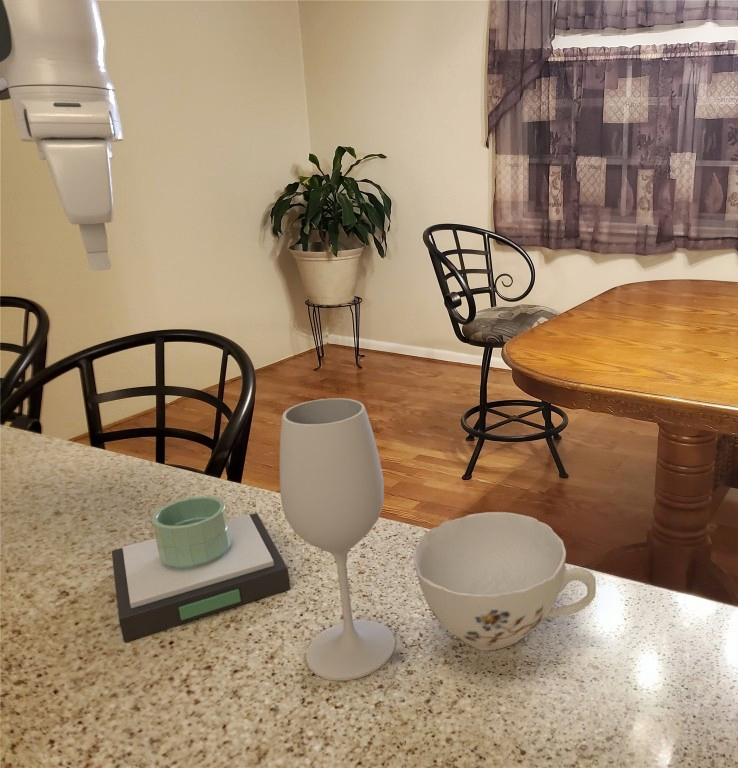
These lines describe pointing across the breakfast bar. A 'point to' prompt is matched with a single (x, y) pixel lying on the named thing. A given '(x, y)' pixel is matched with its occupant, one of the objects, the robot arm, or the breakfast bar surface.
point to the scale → (195, 580)
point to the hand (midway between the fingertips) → (99, 264)
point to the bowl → (192, 531)
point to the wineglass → (335, 517)
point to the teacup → (495, 577)
